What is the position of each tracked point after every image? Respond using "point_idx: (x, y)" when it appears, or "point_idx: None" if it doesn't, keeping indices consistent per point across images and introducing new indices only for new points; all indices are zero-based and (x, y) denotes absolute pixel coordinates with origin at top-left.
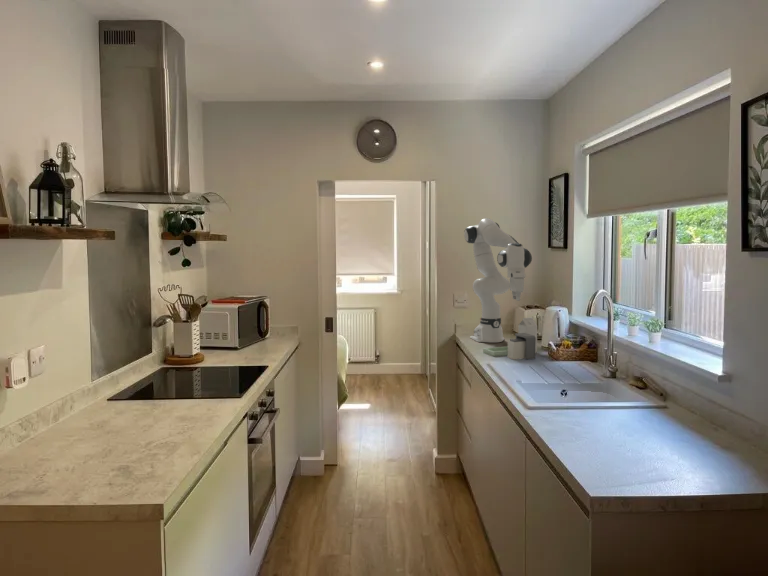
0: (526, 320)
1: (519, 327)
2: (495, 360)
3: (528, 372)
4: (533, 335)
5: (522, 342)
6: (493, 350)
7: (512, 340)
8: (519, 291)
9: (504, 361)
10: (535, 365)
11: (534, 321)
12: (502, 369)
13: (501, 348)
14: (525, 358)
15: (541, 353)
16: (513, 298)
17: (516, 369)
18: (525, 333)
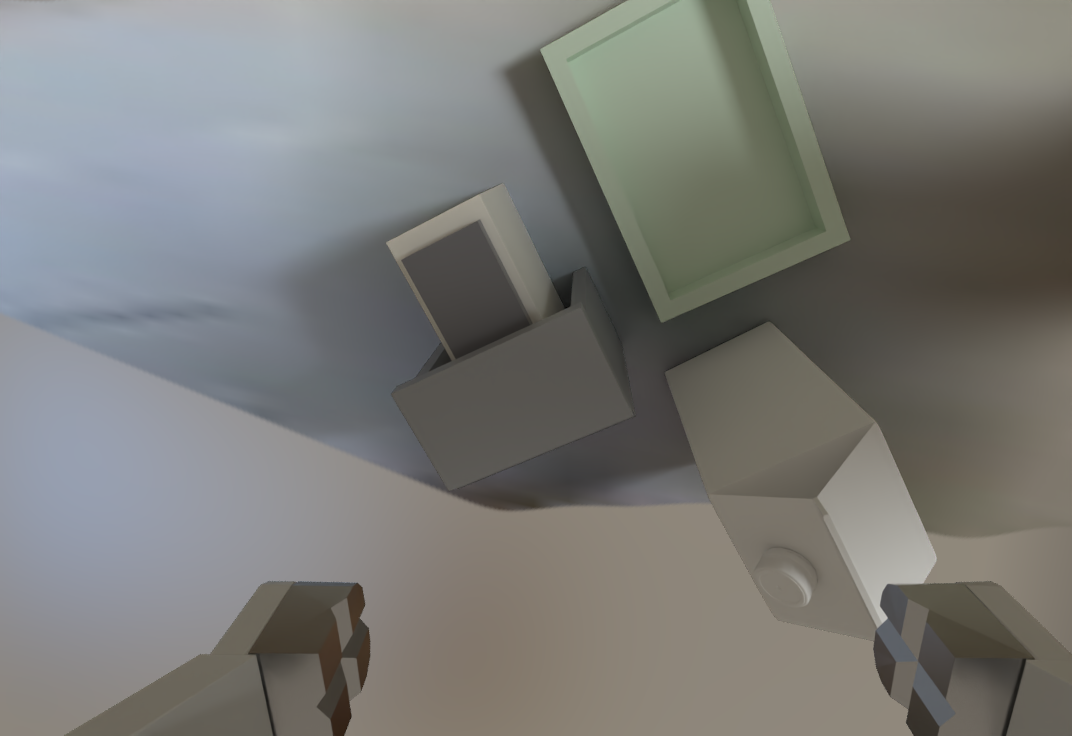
0: (822, 545)
1: (838, 415)
2: (376, 49)
3: (15, 264)
4: (455, 480)
5: (446, 343)
6: (762, 70)
7: (435, 242)
8: None
9: (346, 131)
10: (246, 356)
11: (840, 632)
12: (49, 73)
13: (798, 163)
14: None
15: (676, 485)
16: (904, 598)
17: (82, 191)
18: (583, 425)
